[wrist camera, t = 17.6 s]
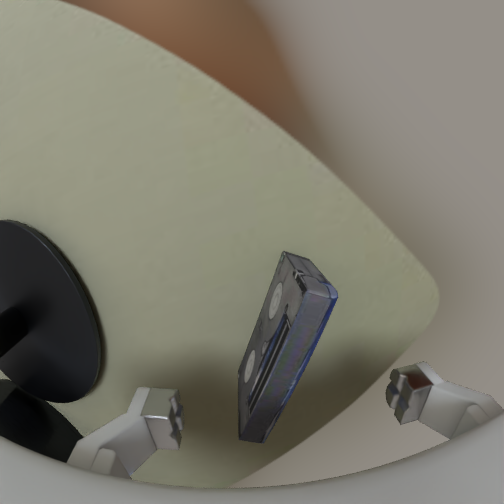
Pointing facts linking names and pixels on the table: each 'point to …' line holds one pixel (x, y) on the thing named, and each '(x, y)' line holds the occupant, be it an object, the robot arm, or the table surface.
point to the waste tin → (35, 423)
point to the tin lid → (44, 319)
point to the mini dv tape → (281, 343)
